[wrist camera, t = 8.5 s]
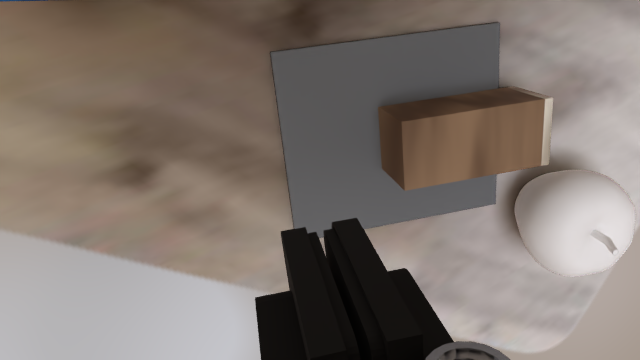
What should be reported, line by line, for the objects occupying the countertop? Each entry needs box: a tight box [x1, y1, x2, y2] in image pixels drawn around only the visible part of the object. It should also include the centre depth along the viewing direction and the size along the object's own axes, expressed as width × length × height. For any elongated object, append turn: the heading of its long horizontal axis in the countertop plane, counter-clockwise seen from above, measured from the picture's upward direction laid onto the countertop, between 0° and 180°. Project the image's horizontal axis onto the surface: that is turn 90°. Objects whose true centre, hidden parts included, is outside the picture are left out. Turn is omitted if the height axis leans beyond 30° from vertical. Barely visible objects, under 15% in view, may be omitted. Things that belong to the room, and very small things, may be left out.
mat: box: [270, 22, 500, 238], centre depth 32 cm, size 14×12×1 cm
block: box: [378, 86, 553, 191], centre depth 30 cm, size 4×4×9 cm
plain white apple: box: [514, 170, 636, 277], centre depth 32 cm, size 7×7×8 cm
